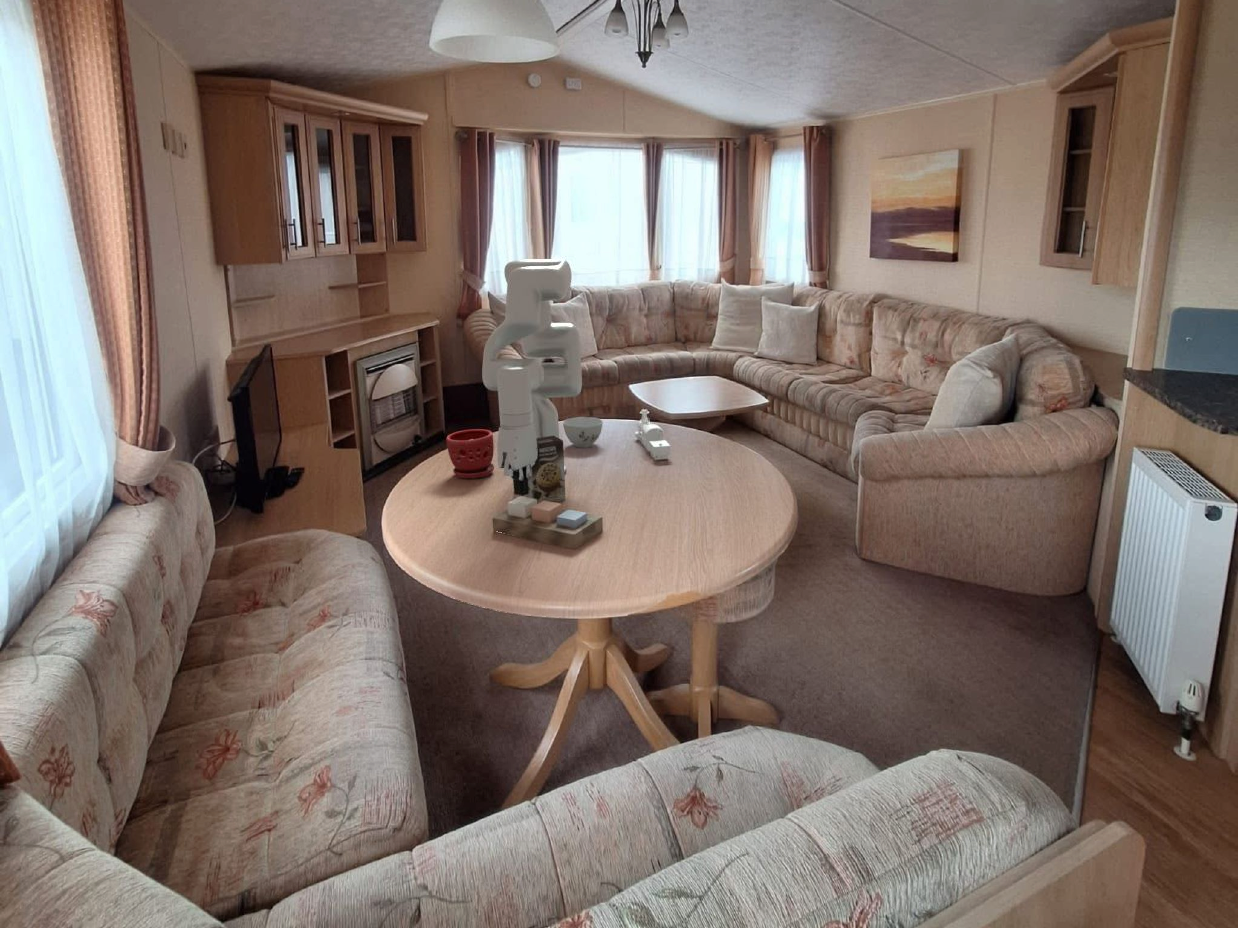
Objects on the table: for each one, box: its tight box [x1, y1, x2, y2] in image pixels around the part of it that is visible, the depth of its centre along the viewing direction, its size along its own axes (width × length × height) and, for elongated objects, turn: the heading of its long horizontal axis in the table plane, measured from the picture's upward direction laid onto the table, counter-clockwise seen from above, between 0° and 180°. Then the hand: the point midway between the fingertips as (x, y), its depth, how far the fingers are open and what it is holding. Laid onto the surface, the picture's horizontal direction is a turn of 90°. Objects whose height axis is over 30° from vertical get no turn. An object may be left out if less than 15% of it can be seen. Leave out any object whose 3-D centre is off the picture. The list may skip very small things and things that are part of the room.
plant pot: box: [445, 428, 495, 479], centre depth 232 cm, size 13×13×12 cm
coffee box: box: [525, 436, 567, 504], centre depth 210 cm, size 9×6×16 cm
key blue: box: [557, 509, 588, 528], centre depth 187 cm, size 5×5×4 cm
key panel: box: [491, 508, 604, 550], centre depth 191 cm, size 23×12×4 cm, turn 60°
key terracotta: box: [531, 501, 563, 523], centre depth 190 cm, size 5×5×4 cm
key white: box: [506, 495, 537, 518], centre depth 193 cm, size 5×5×4 cm
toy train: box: [633, 408, 671, 461], centre depth 253 cm, size 6×30×10 cm, turn 11°
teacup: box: [562, 416, 604, 448], centre depth 259 cm, size 15×12×8 cm
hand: (521, 494), depth 192 cm, fingers closed
